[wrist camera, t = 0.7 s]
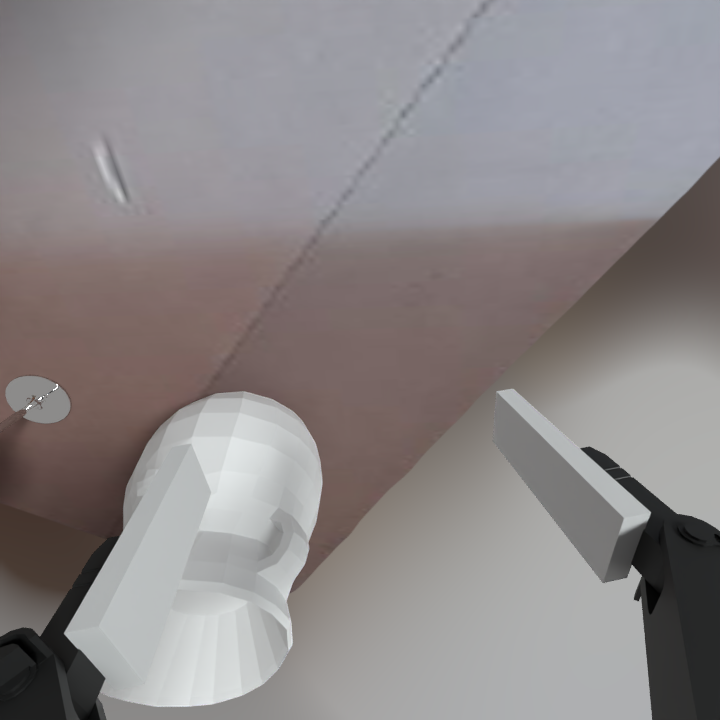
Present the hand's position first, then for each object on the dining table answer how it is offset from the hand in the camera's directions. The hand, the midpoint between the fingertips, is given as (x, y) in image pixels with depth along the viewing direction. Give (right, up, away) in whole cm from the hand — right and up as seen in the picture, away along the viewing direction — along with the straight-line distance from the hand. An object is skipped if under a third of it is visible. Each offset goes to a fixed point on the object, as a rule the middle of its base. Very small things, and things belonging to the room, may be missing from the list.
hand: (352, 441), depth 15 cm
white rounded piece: (-14, -5, +30) cm, 33 cm away
